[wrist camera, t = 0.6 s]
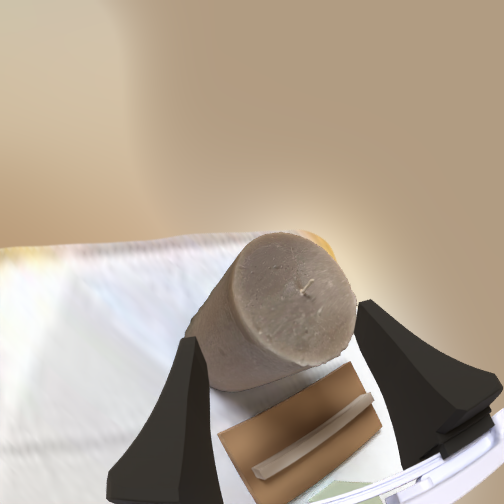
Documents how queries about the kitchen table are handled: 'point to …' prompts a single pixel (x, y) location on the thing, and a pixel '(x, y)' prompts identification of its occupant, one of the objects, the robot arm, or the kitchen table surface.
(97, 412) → the kitchen table surface
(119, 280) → the kitchen table surface
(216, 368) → the pillar candle
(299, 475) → the cleat plank
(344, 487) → the notched block
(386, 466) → the kitchen table surface
